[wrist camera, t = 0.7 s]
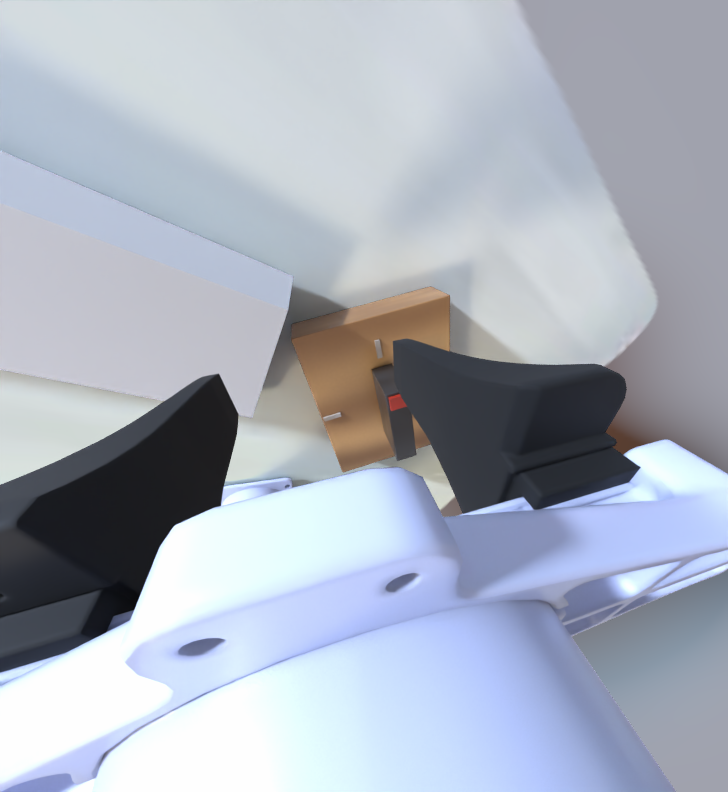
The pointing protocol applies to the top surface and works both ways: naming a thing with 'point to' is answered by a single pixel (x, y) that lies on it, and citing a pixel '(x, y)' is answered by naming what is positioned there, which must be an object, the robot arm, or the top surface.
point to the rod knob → (394, 413)
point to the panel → (365, 366)
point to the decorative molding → (127, 295)
